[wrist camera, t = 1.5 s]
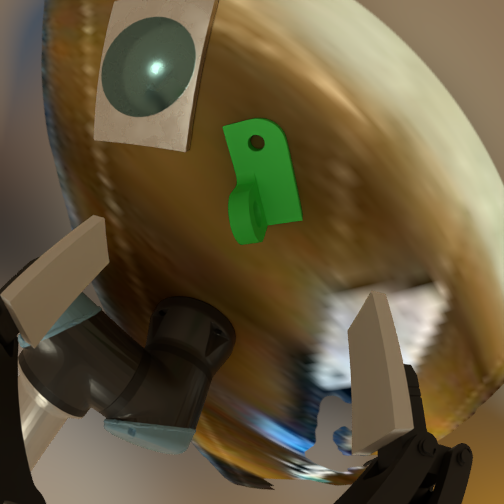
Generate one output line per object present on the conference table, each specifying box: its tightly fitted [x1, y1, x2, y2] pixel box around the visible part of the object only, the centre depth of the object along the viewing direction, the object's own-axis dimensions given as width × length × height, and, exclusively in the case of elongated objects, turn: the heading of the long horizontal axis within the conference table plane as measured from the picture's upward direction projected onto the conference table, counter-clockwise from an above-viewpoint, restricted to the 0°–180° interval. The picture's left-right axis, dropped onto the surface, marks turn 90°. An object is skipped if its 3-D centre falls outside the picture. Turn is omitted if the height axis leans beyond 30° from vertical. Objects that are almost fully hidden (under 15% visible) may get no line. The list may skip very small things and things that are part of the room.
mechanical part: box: [222, 118, 303, 245], centre depth 26 cm, size 12×6×8 cm, turn 15°
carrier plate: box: [94, 0, 219, 152], centre depth 24 cm, size 20×14×1 cm
